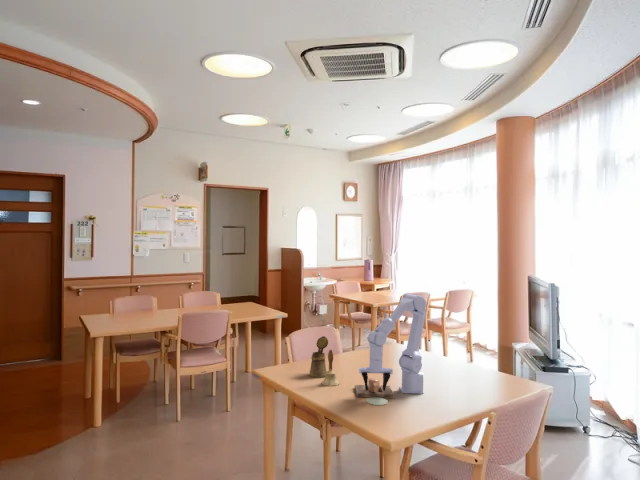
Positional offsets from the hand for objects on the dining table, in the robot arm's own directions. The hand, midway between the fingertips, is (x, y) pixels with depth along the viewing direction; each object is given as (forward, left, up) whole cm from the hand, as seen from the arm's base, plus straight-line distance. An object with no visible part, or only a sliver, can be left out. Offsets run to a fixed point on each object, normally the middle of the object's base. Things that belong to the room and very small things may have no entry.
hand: (375, 389), depth 197 cm
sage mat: (0, +6, -3) cm, 7 cm away
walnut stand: (0, -5, -3) cm, 5 cm away
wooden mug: (+24, -32, -3) cm, 40 cm away
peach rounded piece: (0, -3, -3) cm, 4 cm away
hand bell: (+19, -17, -3) cm, 25 cm away
